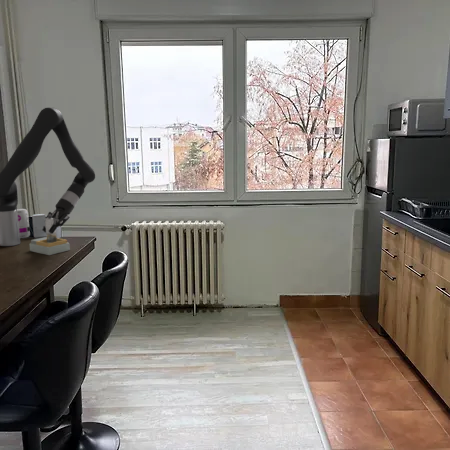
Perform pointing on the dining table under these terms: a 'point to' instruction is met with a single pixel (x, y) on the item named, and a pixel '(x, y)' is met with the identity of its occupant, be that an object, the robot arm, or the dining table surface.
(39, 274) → the dining table surface
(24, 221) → the supplement can
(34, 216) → the skincare box
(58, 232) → the medicine box
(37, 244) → the bottle holder tray
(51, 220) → the grey tall cylinder
